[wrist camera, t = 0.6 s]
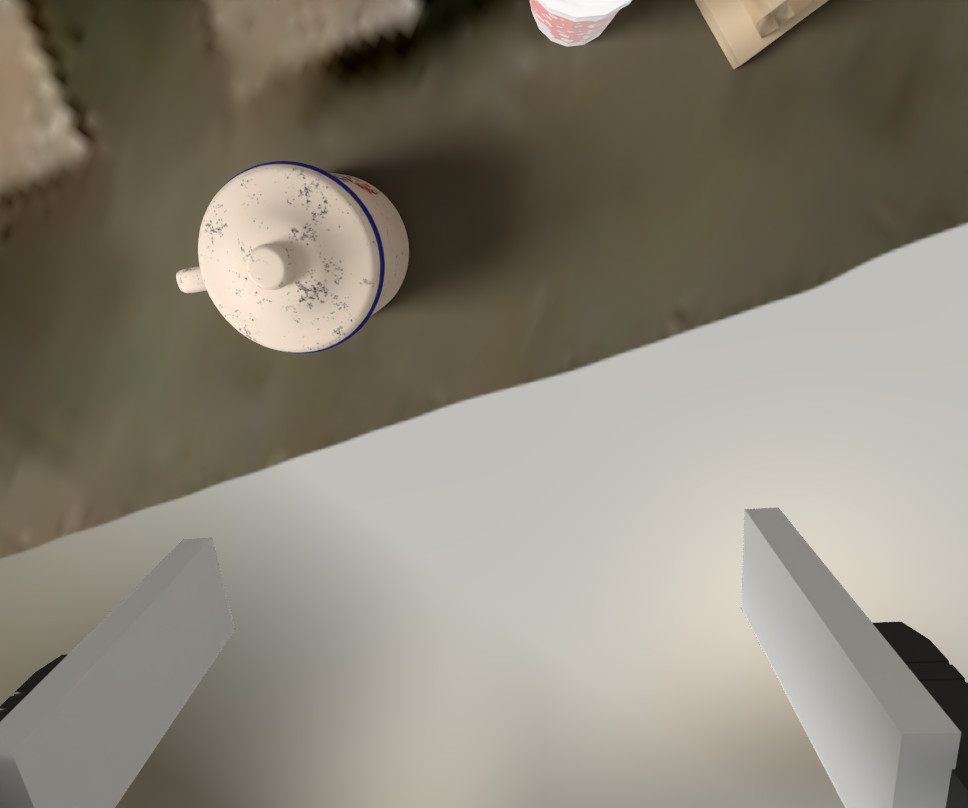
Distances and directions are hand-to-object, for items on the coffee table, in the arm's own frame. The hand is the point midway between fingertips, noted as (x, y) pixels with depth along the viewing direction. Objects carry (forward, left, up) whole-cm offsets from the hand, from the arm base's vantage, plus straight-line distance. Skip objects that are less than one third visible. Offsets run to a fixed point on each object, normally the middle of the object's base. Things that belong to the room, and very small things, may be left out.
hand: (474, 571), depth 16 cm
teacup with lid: (-11, -6, -26) cm, 29 cm away
